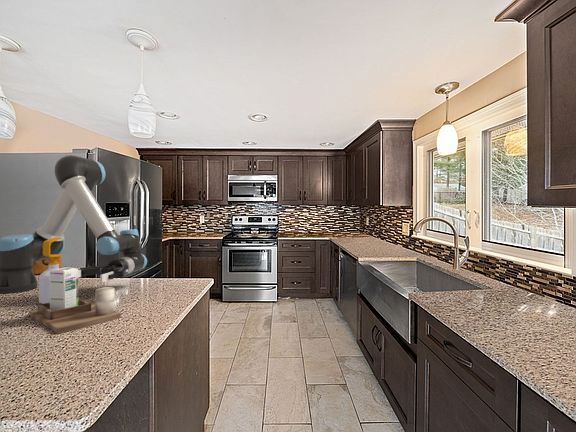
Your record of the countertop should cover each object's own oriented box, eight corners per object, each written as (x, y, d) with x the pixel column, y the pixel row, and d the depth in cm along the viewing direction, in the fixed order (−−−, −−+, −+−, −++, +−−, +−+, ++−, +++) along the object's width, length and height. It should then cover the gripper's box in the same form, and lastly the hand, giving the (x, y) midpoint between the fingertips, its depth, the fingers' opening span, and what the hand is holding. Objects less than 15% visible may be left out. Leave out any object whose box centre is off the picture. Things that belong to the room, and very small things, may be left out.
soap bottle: (72, 299, 126) (73, 237, 126) (47, 305, 118) (48, 239, 117) (59, 296, 130) (59, 236, 129) (33, 302, 122) (34, 237, 121)
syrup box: (64, 315, 104) (64, 270, 104) (48, 313, 105) (49, 269, 105) (78, 309, 110) (79, 267, 110) (63, 308, 111) (64, 266, 111)
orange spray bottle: (61, 273, 172) (62, 232, 171) (32, 276, 164) (32, 233, 163) (60, 270, 179) (60, 231, 179) (31, 272, 171) (32, 231, 171)
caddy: (29, 315, 108) (29, 287, 107) (87, 303, 122) (87, 278, 122) (58, 334, 93) (58, 301, 93) (120, 317, 108) (121, 289, 107)
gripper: (147, 277, 136) (115, 290, 115) (93, 274, 139) (52, 286, 118) (148, 259, 136) (116, 269, 115) (93, 257, 139) (52, 265, 117)
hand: (83, 277), depth 116 cm, fingers open, 13 cm apart
